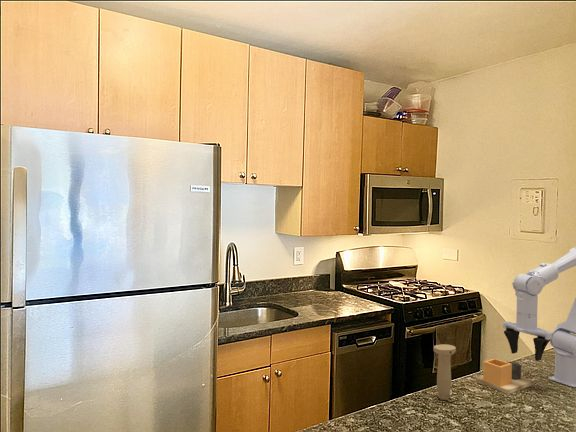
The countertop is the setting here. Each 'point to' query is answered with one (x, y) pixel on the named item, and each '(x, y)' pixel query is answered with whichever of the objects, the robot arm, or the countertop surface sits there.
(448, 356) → the handle
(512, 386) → the fitting board
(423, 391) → the countertop surface
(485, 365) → the sleeve
